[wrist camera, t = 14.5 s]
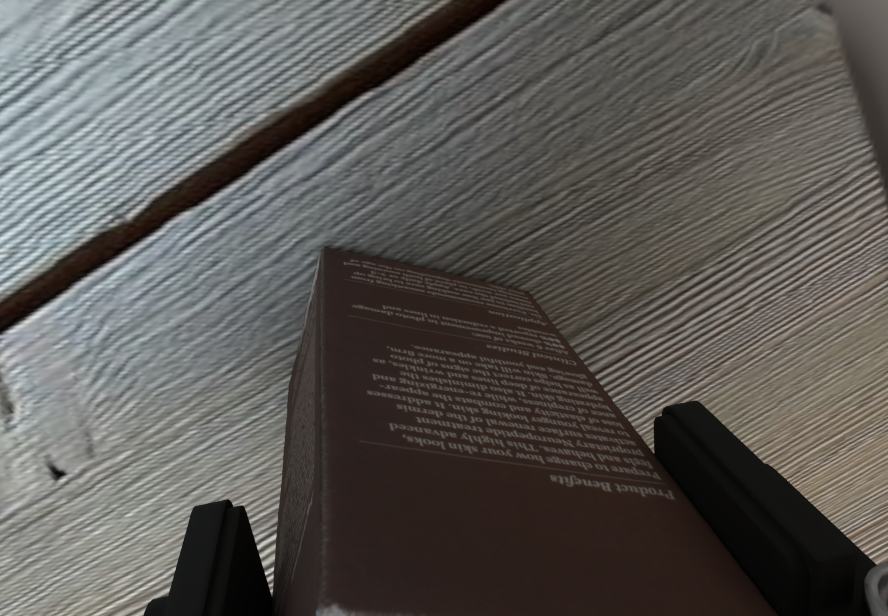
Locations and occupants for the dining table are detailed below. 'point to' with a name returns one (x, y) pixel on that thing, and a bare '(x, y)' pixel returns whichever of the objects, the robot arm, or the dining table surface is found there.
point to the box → (473, 466)
